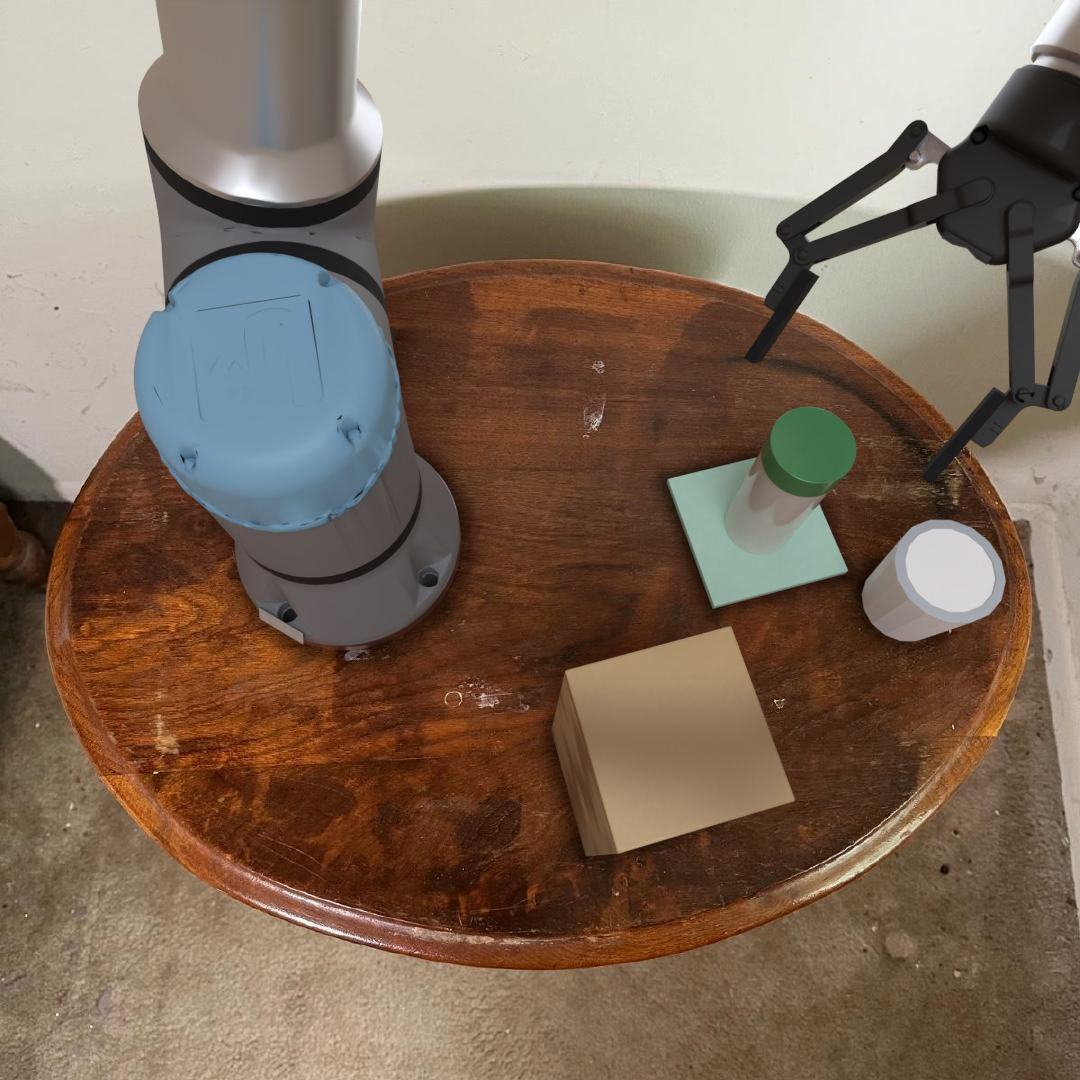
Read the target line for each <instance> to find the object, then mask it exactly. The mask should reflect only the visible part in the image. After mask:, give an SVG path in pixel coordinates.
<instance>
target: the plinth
mask: <svg viewBox="0 0 1080 1080" xmlns="http://www.w3.org/2000/svg"><path fill="white" fill-rule="evenodd" d="M561 682H562V683H561V688H560V691H559V696H558V699H557V704H556V709H555V713H554V717H553V721H552V726H551V729H550V730H551V735H552V738H553V742H554V745H555V749H556V753H557V756H558V760H559V764H560V767H561V770H562V775H563V778H564V783H565V785H566V789H567V793H568V796H569V799H570V804H571V807H572V811H573V815H574V818H575V822H576V825H577V828H578V833H579V836H580V840H581V844H582V848H583V850H584V854H585V857H593V856H607V855H616V854H623V853H626V852H629V851H632V850H636V849H639V848H642V847H645V846H649V845H652V844H656V843H659V842H663V841H666V840H669V839H673V838H676V837H679V836H683V835H686V834H690V833H693V832H696V831H699V830H704V829H707V828H709V827H710V828H711V827H713V826H716V825H720V824H723V823H726V822H730V821H733V820H736V819H740V818H743V817H747V816H750V815H753V814H756V813H760V812H763V811H767V810H770V809H774V808H777V807H779V806H783V805H787V804H790V803H794V802H795V801H796V798H795V795H794V792H793V789H792V787H791V784H790V782H789V779H788V777H787V774H786V771H785V768H784V765H783V763H782V760H781V757H780V755H779V752H778V750H777V747H776V744H775V741H774V738H773V735H772V734H771V730H770V728H769V724H768V722H767V719H766V717H765V714H764V712H763V709H762V706H761V702H760V701H759V698H758V695H757V692H756V689H755V687H754V683H753V681H752V680H751V677H750V674H749V671H748V668H747V666H746V663H745V659H744V657H743V655H742V652H741V650H740V646H739V643H738V641H737V638H736V635H735V633H734V631H733V627H732V626H725V627H722V628H718V629H714V630H710V631H707V632H703V633H699V634H696V635H691V636H688V637H685V638H681V639H677V640H673V641H670V642H666V643H663V644H659V645H654V646H651V647H647V648H644V649H643V648H642V649H640V650H636V651H632V652H629V653H625V654H620V655H617V656H613V657H610V658H606V659H603V660H599V661H595V662H591V663H588V664H584V665H581V666H577V667H573V668H569V669H566V670H565V671H564V674H563V679H562V681H561Z"/></svg>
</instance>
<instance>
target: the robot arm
mask: <svg viewBox="0 0 1080 1080" xmlns="http://www.w3.org/2000/svg"><path fill="white" fill-rule="evenodd" d="M154 1H155V7H156V13H157V21H158V26H159V33H160V39H161V45H162V52H163V53H162V54H161V55H160V56H159V57H157V59H156V60H155V61H153V62H152V64H151V65H150V67H149V68H148V69H147V70H146V72H145V74H144V76H143V77H142V80H141V82H140V86H139V89H138V95H137V108H138V115H139V122H140V127H141V132H142V137H143V142H144V143H143V144H144V148H145V153H146V159H147V163H148V168H149V174H150V179H151V184H152V188H153V194H154V199H155V204H156V210H157V218H158V225H159V233H160V243H161V261H162V276H163V277H162V278H163V293H164V294H163V295H164V309H163V310H154V311H152V312H151V314H150V316H149V318H148V320H147V322H146V323H145V324H144V327H143V330H142V332H141V335H140V338H139V341H138V344H137V348H136V351H135V357H134V363H133V389H134V397H135V403H136V406H137V410H138V413H139V416H140V419H141V422H142V425H143V427H144V429H145V431H146V433H147V435H148V437H149V439H150V441H151V442H152V444H153V445H154V446H155V448H156V450H157V451H158V452H157V453H158V454H159V457H160V459H161V462H162V464H163V465H164V466H165V467H166V468H168V471H169V473H170V474H171V476H172V477H173V478H174V480H176V481H177V483H178V484H179V486H180V487H181V488H182V489H183V491H184V492H185V493H186V494H187V495H189V496H190V497H191V498H192V499H194V500H195V501H196V503H198V504H200V506H202V507H203V508H204V509H206V510H207V512H208V513H209V514H210V515H211V516H212V518H214V520H215V521H216V522H217V523H218V524H219V526H221V527H222V528H223V529H224V530H225V532H226V533H227V534H228V535H229V536H230V537H231V538H232V540H234V555H235V563H236V568H237V572H238V575H239V579H240V582H241V584H242V586H243V588H244V591H245V593H246V594H247V596H248V599H249V600H250V602H251V603H252V604H253V605H254V606H255V608H256V609H257V610H258V614H259V615H258V617H259V620H261V621H262V622H265V624H268V625H269V626H271V627H273V628H275V629H276V630H278V631H280V632H281V633H283V634H285V635H286V636H288V637H289V638H292V639H293V640H294V641H296V642H298V643H299V644H302V645H304V644H305V645H308V646H311V647H315V648H318V649H324V650H331V651H356V650H365V649H369V648H374V647H377V646H381V645H385V644H387V643H389V642H391V641H394V640H396V639H398V638H400V637H402V636H404V635H406V634H407V633H409V632H410V631H412V630H414V629H415V628H416V627H417V626H419V625H420V624H422V623H423V622H424V621H425V620H426V619H427V618H428V617H429V616H430V615H431V614H433V612H434V611H435V610H436V609H437V607H438V606H439V605H440V604H441V603H442V601H443V600H444V598H445V597H446V595H447V594H448V592H449V590H450V589H451V586H452V584H453V582H454V579H455V578H456V575H457V572H458V568H459V565H460V560H461V554H462V529H461V523H460V518H459V512H458V508H457V506H456V502H455V499H454V497H453V495H452V493H451V491H450V489H449V487H448V485H447V484H446V482H445V481H444V480H443V478H442V477H441V475H440V474H439V472H437V471H436V470H435V468H434V467H433V466H432V465H431V464H430V463H429V462H427V460H425V459H424V458H423V457H422V456H420V455H419V454H417V453H416V452H415V448H414V444H413V440H412V437H411V433H410V428H409V424H408V420H407V415H406V410H405V405H404V401H403V395H402V389H401V382H400V374H399V371H398V367H397V361H396V355H395V350H394V349H395V348H394V345H395V340H396V335H397V332H396V331H395V329H392V328H391V327H390V326H391V325H390V322H389V317H388V316H389V315H388V309H387V308H388V307H387V302H386V298H385V292H384V286H383V279H382V275H381V269H380V262H379V257H378V251H377V250H378V249H377V244H376V243H377V242H376V219H375V218H376V208H377V200H378V191H379V190H378V189H379V180H380V172H381V160H382V151H383V144H384V143H383V141H384V126H383V121H382V118H381V114H380V111H379V107H378V105H377V104H376V102H375V99H374V98H373V96H372V95H371V93H370V92H369V90H368V89H367V87H366V86H365V85H364V84H363V83H362V81H361V80H360V79H359V78H358V71H359V69H358V68H359V54H360V42H361V27H362V26H361V25H362V13H363V0H154ZM1029 52H1030V53H1029V54H1030V60H1031V62H1032V64H1025V65H1023V66H1021V67H1018V68H1015V70H1014V71H1013V72H1012V73H1011V75H1010V76H1009V78H1008V80H1007V81H1006V82H1005V83H1004V85H1003V86H1002V87H1001V89H1000V90H999V92H998V94H997V95H996V96H995V98H994V99H993V101H992V102H991V103H990V104H989V106H988V107H987V109H986V110H985V111H984V113H983V114H982V116H981V117H980V119H979V120H978V122H977V123H976V124H975V125H974V127H973V128H972V130H971V131H970V132H969V134H968V135H967V136H966V137H965V138H963V140H962V141H960V142H959V143H957V144H956V145H955V146H953V147H951V146H949V145H948V144H947V143H946V142H944V141H943V140H941V138H939V137H938V136H936V135H935V133H933V132H931V131H930V130H929V127H928V124H927V123H926V122H925V121H924V120H922V119H915V120H912V121H911V122H910V123H909V124H908V125H907V126H906V127H905V129H904V130H903V131H902V132H901V133H900V134H899V136H898V137H897V138H896V139H895V141H894V142H893V143H892V144H891V146H890V147H888V149H887V150H886V151H885V152H884V153H882V154H880V155H878V156H877V157H876V158H874V159H873V160H871V161H870V162H868V163H867V164H865V165H863V167H861V168H860V169H858V170H856V171H854V172H853V173H852V174H850V175H849V176H847V177H846V178H844V179H843V180H841V181H840V182H838V183H837V184H835V185H833V186H832V187H831V188H830V189H828V190H826V191H825V192H824V193H822V194H820V195H819V196H817V197H816V198H814V199H813V200H811V201H810V202H808V203H807V204H805V205H803V206H802V207H801V208H799V209H798V210H796V211H795V212H792V214H790V215H789V216H787V217H785V218H784V219H783V220H781V221H780V222H779V223H777V226H776V228H775V234H776V237H777V238H778V239H779V240H780V241H781V243H782V245H784V247H785V248H786V249H787V251H788V255H789V257H788V261H787V263H786V265H785V267H784V268H783V269H782V271H781V272H780V274H779V276H778V277H777V278H776V280H775V282H774V283H773V284H772V286H771V288H769V291H767V293H766V295H765V298H764V302H763V306H765V307H766V308H768V309H769V310H770V311H772V312H773V314H772V315H771V316H770V318H769V320H767V322H766V324H765V325H764V327H763V328H762V330H761V331H760V333H759V334H758V335H757V337H756V339H755V340H754V342H753V343H752V345H751V346H750V348H749V349H748V351H747V352H746V354H745V355H744V357H743V359H745V360H747V361H748V362H749V363H750V364H752V365H755V364H758V363H761V362H762V361H763V360H764V359H765V357H766V356H767V355H768V353H769V351H770V349H772V346H774V344H775V342H776V341H777V340H778V338H779V337H780V335H781V334H782V333H783V331H784V330H785V328H786V327H787V326H788V324H789V322H790V321H791V319H792V318H793V316H794V315H795V314H796V312H797V311H798V309H799V308H800V306H801V304H802V303H803V302H804V300H805V299H806V297H807V296H808V294H809V293H810V291H811V290H812V289H813V287H814V286H815V284H816V283H817V281H818V280H819V278H820V275H818V274H816V272H814V271H812V270H811V268H812V267H814V265H817V264H821V263H824V262H826V261H828V260H829V261H830V260H832V259H834V258H838V257H840V256H843V255H846V254H850V253H853V252H855V251H858V250H861V249H863V248H866V247H869V246H871V245H875V244H878V243H881V242H884V241H886V240H890V239H893V238H895V237H898V236H901V235H904V234H906V233H909V232H912V231H917V230H919V229H920V230H921V229H923V228H926V227H929V226H932V225H934V224H935V228H936V230H937V232H938V234H939V235H940V237H941V239H942V240H944V241H945V242H947V243H949V244H951V245H952V246H956V247H959V248H963V249H965V250H967V251H968V252H969V253H970V255H972V256H973V258H975V259H976V260H977V261H979V262H981V264H984V265H986V266H987V265H988V266H994V267H995V266H1004V265H1005V269H1006V270H1005V276H1006V278H1005V280H1006V281H1005V282H1006V300H1007V301H1006V304H1007V343H1008V344H1007V345H1008V348H1007V349H1008V350H1007V351H1008V388H1007V390H1006V391H1005V392H1003V391H1001V390H1000V389H998V388H997V387H995V386H992V388H991V389H990V390H989V392H988V393H987V394H986V395H985V396H984V398H982V400H981V401H980V402H979V404H978V405H977V406H976V407H975V408H974V409H973V410H972V412H971V413H970V414H969V415H968V416H967V418H966V419H964V421H963V422H962V423H961V425H960V426H959V427H958V428H957V429H956V430H955V432H954V433H952V435H951V436H950V437H949V439H948V440H947V441H946V442H945V443H944V445H943V446H942V447H941V448H940V449H939V451H937V453H936V454H935V455H934V456H933V458H932V459H930V461H929V462H928V463H927V464H926V466H925V467H924V468H923V470H922V473H921V479H922V480H924V481H926V482H927V483H928V484H930V485H933V484H934V483H935V481H936V480H937V479H938V478H939V477H940V476H941V475H942V474H943V472H944V471H945V470H946V469H947V468H948V466H949V465H950V464H951V463H952V462H953V461H954V459H956V458H957V456H958V455H959V454H960V453H961V451H962V450H963V449H965V447H966V446H967V444H968V443H969V442H970V441H971V442H973V443H974V444H976V445H978V446H979V447H981V448H982V449H985V448H987V447H988V446H990V445H991V444H993V443H994V442H995V441H996V439H998V437H1000V435H1001V434H1002V433H1003V432H1004V431H1005V429H1006V428H1007V427H1008V426H1009V425H1010V423H1011V422H1012V421H1013V420H1014V419H1015V418H1016V417H1017V416H1018V415H1019V413H1020V412H1021V411H1023V410H1024V409H1026V408H1029V407H1038V408H1042V409H1047V410H1051V411H1053V412H1063V411H1065V410H1067V409H1068V408H1069V407H1070V406H1071V404H1072V401H1073V398H1074V394H1075V390H1076V387H1077V383H1078V379H1079V375H1080V0H1063V2H1062V4H1061V5H1060V6H1059V8H1058V9H1057V11H1056V12H1055V13H1054V15H1053V17H1052V18H1051V19H1050V21H1049V22H1048V24H1047V25H1046V26H1045V28H1043V30H1042V32H1041V33H1040V35H1039V36H1038V38H1036V41H1035V42H1034V43H1033V44H1032V46H1031V47H1030V49H1029ZM928 164H935V165H937V167H936V168H937V169H936V188H935V190H936V192H935V194H934V195H932V196H930V197H926V198H924V199H921V200H919V201H916V202H913V203H910V204H909V205H907V206H905V207H902V208H899V209H897V210H894V211H890V212H888V213H885V214H882V215H880V216H877V217H874V218H872V219H869V220H866V221H864V222H860V223H857V224H855V225H853V226H850V227H847V228H845V229H841V230H838V231H836V232H833V233H830V234H828V235H825V236H822V237H819V238H816V239H813V240H812V241H810V240H809V238H808V237H807V235H808V234H810V233H812V232H813V231H814V230H816V229H818V228H819V227H821V226H823V225H824V224H825V223H827V222H829V221H830V220H831V219H833V218H835V217H837V216H838V215H839V214H841V213H842V212H844V211H845V210H847V209H849V208H851V206H853V205H855V204H857V203H858V202H859V201H861V200H863V199H864V198H865V197H868V196H869V195H871V194H872V193H874V192H875V191H877V190H878V189H879V188H881V187H882V186H885V185H886V184H888V183H889V182H890V181H892V180H894V179H895V178H896V177H897V176H899V175H900V174H901V173H902V172H903V171H904V170H906V169H907V170H909V171H919V170H920V169H922V168H923V167H924V166H926V165H928ZM1066 241H1069V242H1070V243H1071V244H1072V246H1073V251H1072V255H1071V263H1072V264H1073V266H1074V267H1076V268H1077V269H1079V270H1078V271H1077V273H1076V276H1075V278H1074V280H1073V284H1072V286H1071V290H1070V294H1069V298H1068V301H1067V306H1066V309H1065V312H1064V313H1065V314H1064V317H1063V321H1062V324H1061V329H1060V332H1059V337H1058V340H1057V342H1056V343H1057V344H1056V347H1055V351H1054V354H1053V358H1052V363H1051V366H1050V370H1049V374H1048V378H1047V381H1046V384H1042V383H1038V382H1036V363H1035V361H1036V360H1035V359H1036V356H1035V355H1036V354H1035V353H1036V352H1035V308H1034V307H1035V299H1034V295H1035V293H1034V292H1035V291H1034V281H1035V260H1034V258H1035V255H1034V254H1036V253H1038V252H1041V251H1043V250H1046V249H1049V248H1052V247H1054V246H1057V245H1059V244H1062V243H1064V242H1066Z"/></svg>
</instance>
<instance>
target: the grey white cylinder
mask: <svg viewBox="0 0 1080 1080" xmlns="http://www.w3.org/2000/svg"><path fill="white" fill-rule="evenodd" d="M1005 586H1006V575H1005V571H1004V566H1003V562H1002V559H1001V558H1000V556H999V554H998V553H997V551H996V550H995V547H994V546H993V545H992V543H991V542H990V541H989V540H988V539H986V538H985V537H984V536H983V535H982V534H981V533H979V532H978V531H976V530H975V529H974V528H973V527H971V526H968V525H966V524H962V523H960V522H958V521H955V520H952V519H929V520H926V521H923V522H921V523H918V524H916V525H914V526H913V525H912V526H911V527H910V529H908V530H907V532H906V533H905V534H904V535H903V536H902V537H901V539H900V540H898V542H897V543H896V544H895V545H894V546H893V548H892V549H891V550H890V551H889V552H888V554H887V555H886V556H885V557H884V558H883V559H882V560H881V561H880V563H879V564H878V565H877V567H876V568H874V570H873V571H872V573H871V574H869V576H868V577H867V579H865V582H864V585H863V589H862V592H861V598H862V606H863V607H862V608H863V611H864V613H865V614H866V616H867V617H868V620H869V621H870V623H871V625H873V626H874V627H875V629H877V630H878V631H879V632H881V633H882V634H883V635H885V636H886V637H888V638H892V639H894V640H896V641H899V642H918V641H921V640H924V639H926V638H930V637H934V636H936V635H939V634H942V633H945V632H948V631H950V630H953V629H957V628H959V627H962V626H965V625H968V624H971V623H973V622H976V621H978V620H980V619H984V618H985V617H987V616H990V615H991V613H992V612H993V611H995V609H996V607H997V606H998V605H999V604H1000V603H1001V601H1002V600H1003V595H1004V590H1005Z"/></svg>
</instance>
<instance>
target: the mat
mask: <svg viewBox="0 0 1080 1080" xmlns="http://www.w3.org/2000/svg"><path fill="white" fill-rule="evenodd" d="M756 458H757V457H753V458H749V459H744V460H741V461H736V462H732V463H729V464H724V465H720V466H715V467H712V468H708V469H704V470H699V471H696V472H691V473H686V474H683V475H679V476H674V477H670V478H667V480H666V485H667V488H668V490H669V494H670V496H671V499H672V501H673V505H674V507H675V510H676V512H677V515H678V519H679V520H680V523H681V526H682V529H683V532H684V535H685V537H686V541H687V543H688V545H689V548H690V551H691V554H692V557H693V559H694V562H695V565H696V568H697V571H698V573H699V576H700V579H701V582H702V584H703V587H704V589H705V592H706V596H707V597H708V600H709V603H710V606H711V608H712V609H713V610H714V609H717V608H720V607H725V606H728V605H732V604H735V603H741V602H744V601H748V600H751V599H755V598H759V597H762V596H766V595H770V594H774V593H776V592H777V593H778V592H781V591H785V590H789V589H792V588H797V587H800V586H803V585H807V584H812V583H816V582H819V581H823V580H826V579H830V578H835V577H837V576H842V575H845V574H846V573H848V572H849V569H848V567H847V565H846V562H845V560H844V558H843V556H842V553H841V551H840V548H839V546H838V543H837V541H836V538H835V537H834V534H833V533H832V530H831V528H830V525H829V523H828V520H827V518H826V516H825V515H824V514H825V513H824V511H823V509H822V506H821V503H819V505H818V506H817V507H816V508H815V509H814V511H813V512H812V513H811V514H810V515H809V517H808V518H807V519H806V520H805V521H804V523H803V524H802V525H801V526H800V527H799V529H798V530H797V531H796V532H795V533H794V535H793V536H792V537H791V538H790V539H789V541H788V542H787V543H786V544H785V545H784V546H783V547H782V548H781V549H779V550H778V551H776V552H774V553H771V554H764V555H759V554H753V553H749V552H747V551H745V550H743V549H741V548H740V547H738V546H737V545H736V544H735V543H734V542H733V541H732V540H731V538H730V537H729V535H728V533H727V531H726V528H725V513H726V510H727V508H728V506H729V504H730V503H731V501H732V499H733V498H734V496H735V494H736V492H737V491H738V489H739V487H740V486H741V484H742V482H743V480H744V479H745V477H746V475H747V474H748V472H749V470H750V468H751V467H752V465H753V463H754V462H755V460H756Z"/></svg>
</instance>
